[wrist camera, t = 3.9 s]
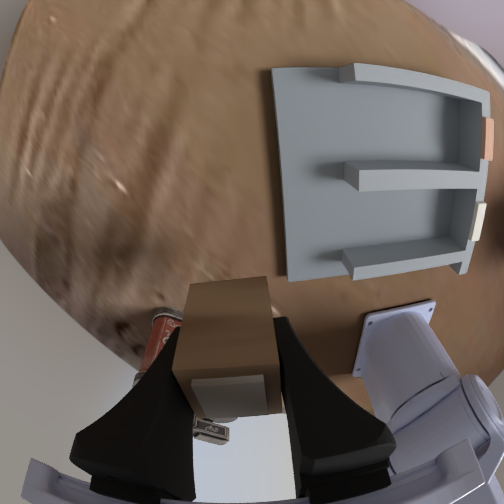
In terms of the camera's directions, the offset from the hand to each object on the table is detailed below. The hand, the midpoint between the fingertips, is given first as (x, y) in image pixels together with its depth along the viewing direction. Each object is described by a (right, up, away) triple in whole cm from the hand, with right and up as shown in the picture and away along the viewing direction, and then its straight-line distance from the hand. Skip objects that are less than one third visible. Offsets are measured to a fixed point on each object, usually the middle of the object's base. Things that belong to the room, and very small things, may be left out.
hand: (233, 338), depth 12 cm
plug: (0, +1, +2) cm, 2 cm away
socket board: (+10, +9, +6) cm, 15 cm away
